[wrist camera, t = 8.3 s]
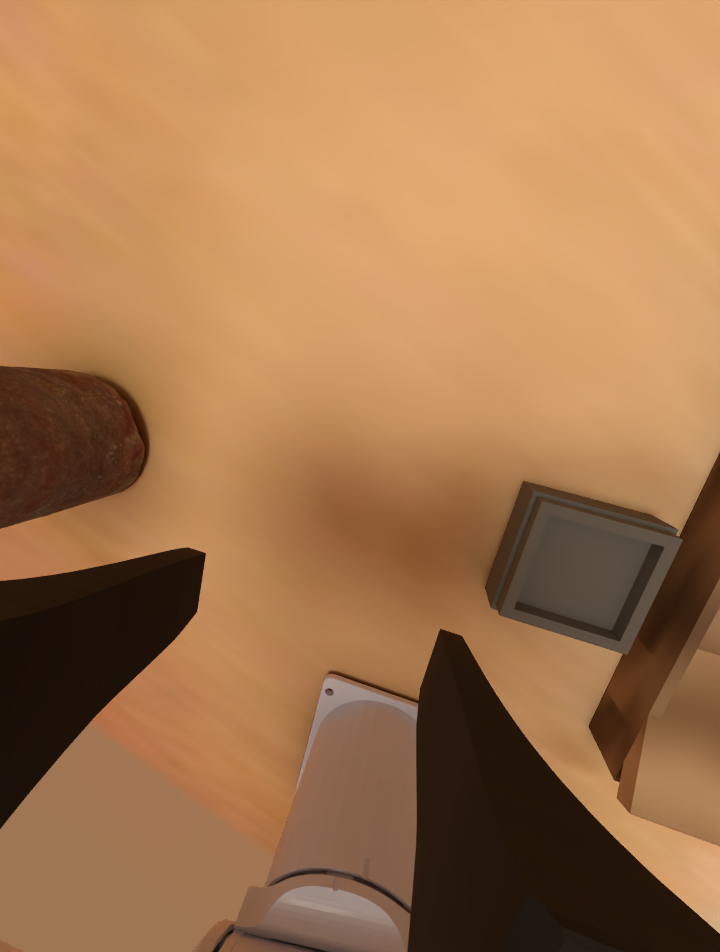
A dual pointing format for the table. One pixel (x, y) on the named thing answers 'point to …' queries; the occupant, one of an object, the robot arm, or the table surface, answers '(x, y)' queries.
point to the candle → (62, 442)
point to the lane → (673, 690)
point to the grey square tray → (580, 566)
